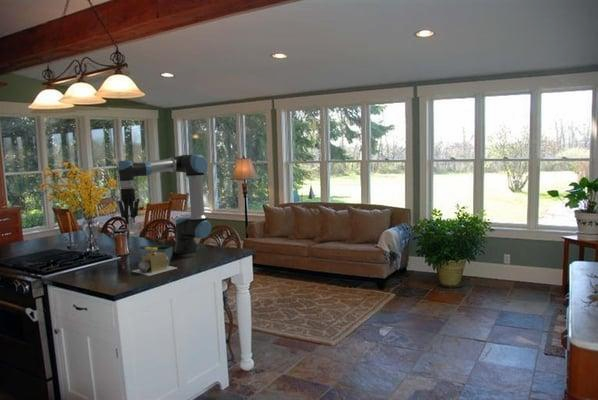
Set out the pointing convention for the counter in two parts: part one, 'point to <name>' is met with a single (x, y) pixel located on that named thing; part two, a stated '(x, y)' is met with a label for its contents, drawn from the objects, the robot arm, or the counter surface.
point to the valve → (154, 262)
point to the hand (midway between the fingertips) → (130, 229)
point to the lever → (148, 248)
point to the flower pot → (166, 250)
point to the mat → (156, 271)
